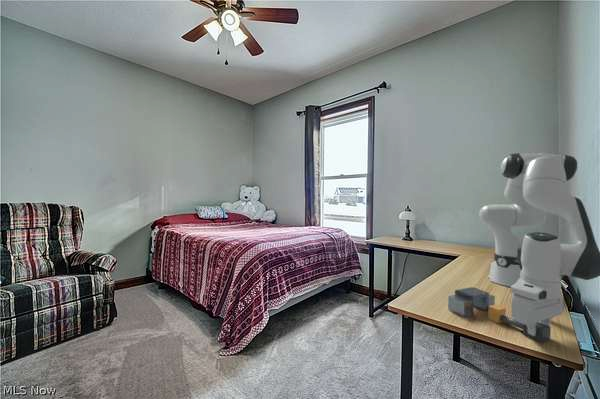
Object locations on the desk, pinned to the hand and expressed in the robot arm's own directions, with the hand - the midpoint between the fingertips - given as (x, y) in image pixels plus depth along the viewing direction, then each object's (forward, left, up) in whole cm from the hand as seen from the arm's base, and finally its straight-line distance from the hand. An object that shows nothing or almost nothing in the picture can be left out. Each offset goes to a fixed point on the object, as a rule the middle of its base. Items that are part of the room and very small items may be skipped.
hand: (537, 332), depth 74 cm
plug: (0, -5, -2) cm, 6 cm away
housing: (0, -20, -2) cm, 20 cm away
